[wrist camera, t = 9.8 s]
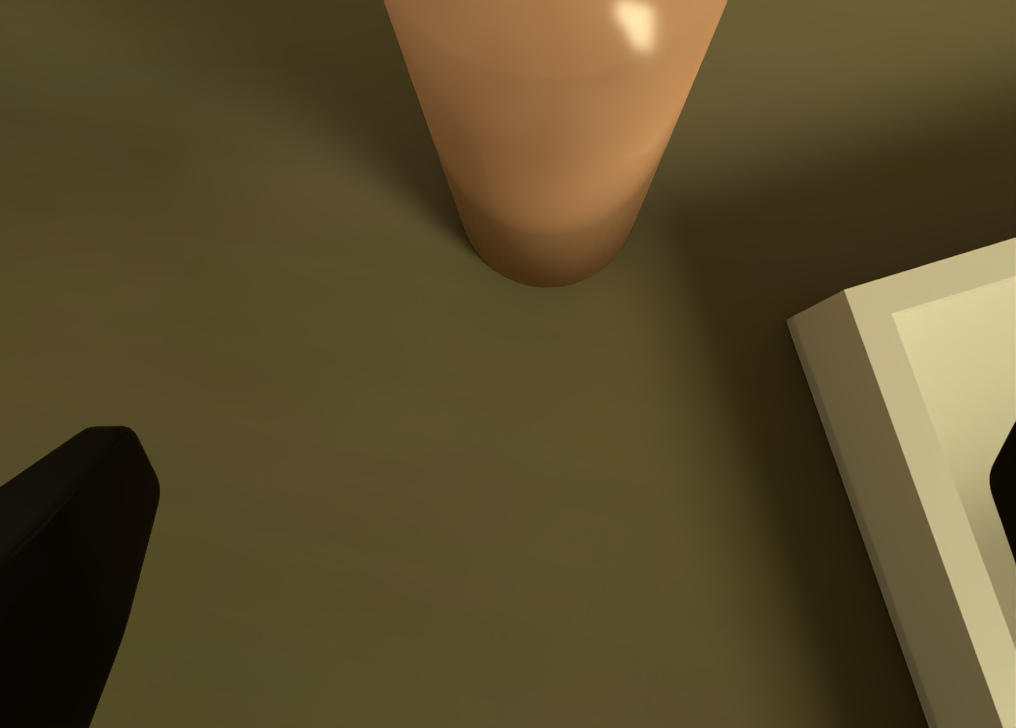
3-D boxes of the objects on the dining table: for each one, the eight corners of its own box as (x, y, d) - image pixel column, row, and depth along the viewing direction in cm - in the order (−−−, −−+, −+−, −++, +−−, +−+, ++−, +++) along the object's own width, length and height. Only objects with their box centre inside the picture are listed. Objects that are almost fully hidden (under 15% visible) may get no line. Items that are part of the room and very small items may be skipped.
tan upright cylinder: (488, 309, 21) (419, 129, 9) (438, 145, 22) (313, -225, 10) (660, 257, 21) (817, 8, 9) (605, 93, 22) (685, -342, 10)
